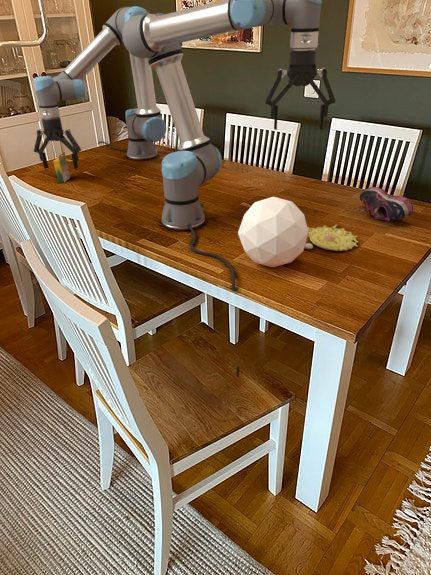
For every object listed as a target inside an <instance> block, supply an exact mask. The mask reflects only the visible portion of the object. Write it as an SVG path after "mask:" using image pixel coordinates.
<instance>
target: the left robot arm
mask: <svg viewBox="0 0 431 575" xmlns="http://www.w3.org/2000/svg"><path fill="white" fill-rule="evenodd" d="M147 14H150V11H148V10H147V9H146V8H144V7H140V6H137V5H134V6H122V7H120V8H119V9H117V10H116V11H115V12H114V13H113V14H112V15H111V16H110V17H109V19H108V20H106V22H105V23H104V24H103V25H102V30H101V31H99V33H98V34H97V35H96V36H95V37H94V38H93V39H92V40H90V42H89V43H88V44H87V45H86V46H85V47H84V48H83V50H82V51H81V52H80V53H78V55H77V56H76V57H75V58H73V60H72V61H71V62H70V63H69V64H68V65H67V66H66V67H65V68H64V69H63V70H62V71H61V72H60V73H59V74H58V75H56V76H53V77H52V76H49V75H45V76H44V75H43V76H36V77H34V78H33V86H34V92H35V96H36V100H37V104H38V110H39V114H40V118H42V119H41V124H42V127H43V129H41V128H39V129H37V130H36V140H35V144H34V148H33V152H34V153H37V154H38V155H39V161H40V162H42V166H43V169H44V170H47V169H49V163H48V159H47V154H46V152H44V150H45V149H46V148H47V146H48V144H49V143H50V142H54V141H55V142H60V143H62V144H63V145H64V146H65V147H66V148H67V149H68V150H69V151H70V152H71V154H70V155H71V160H72V164H73V169H74V170H77V169H79V165H78V161H79V155H78V154H79V153H80V152H81V151H82V148H81V146H80V145H79V143H78V142H77V141H76V139H75V138H74V136H73V135H72V132H71V129H69V128H67V129H63V124H62V120H61V117H60V116H61V114H60V110H59V104H58V102H63V101H64V102H65V101H73V100H74V101H75V100H77V101H78V100H82V99H85V97H86V86H85V84H84V81H83V79H84V78H85V77H86V76H87V75H88V74H89V73H90V72H91V71H92V70H93V69H94V68H95V67H96V66H97V65H98V64H99V63H100V62H101V61H102V59H104V58H105V56H107V55H108V53H110V51H112V49H113V48H115V47H116V46H120V45H121V44H122V43H124V42H123V37H122V31H123V27H124V25H125V23H126V22H127V20H128V19H130V18H131V17H133V16H135V15H147ZM128 53H129V60H130V65H131V71H132V78H133V85H134V86H133V87H134V90H135V98H136V104H137V108H130V109H127V110H125V112H124V113H125V122H126V131H127V138H128V144H127V149H125V148H119V147H115V146H112V145H111V143H109V142H106V141H103V140H100V141H98V142H97V145H100V144H104V145H107V146H108V147H109V148H111V149H113V150H117V151H122V152H126V157H127V159H129V160H131V161H146V160H151V159H154V158H157V156H158V150H157V149H156V146H155V144H154V143H158V142H160V141H161V140H162V139H163V138H164V137H165V135H166V133H167V124H166V122H165V120H164V118H162V112H161V109H160V108H159V107H158V106H157V100H156V99H157V98H156V92H155V84H154V83H155V82H154V78H153V68H151V67H150V66H149V63H148V60H147V58H138V57H136V56H134V55H132V54H131V53H130V52H129V51H128ZM43 135H44V136H45V138H44V141H43V142H42V138H43ZM64 135H65V136H66V137H67V138H66V137H65V136H64ZM67 139H68V140H67ZM41 142H42V143H41Z"/></svg>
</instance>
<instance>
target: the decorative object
mask: <svg viewBox="0 0 431 575" xmlns="http://www.w3.org/2000/svg"><path fill="white" fill-rule="evenodd" d="M307 228H308V231H309V233H308V236H307V238H309V240H310V241H311V243H307V242H306V243H305V247H304V250H313V249H314V245H315V246H316V247H318V248H321V249H324V250H328V251H335V252H341V251H348V250H352V249H354V247H356V248H358V247H359V245H358V244H357V243H359V240H357V238H359V237H358V235H353V234H352V231H347V230H346V229H345V228H344V227H342V228H338V224H335V225H333V226H331V227H328V226H327V225H326V224H325V225H323V226H322V227H321V226H317V227H316V228H314V227H309V226H307ZM313 244H314V245H313Z"/></svg>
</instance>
